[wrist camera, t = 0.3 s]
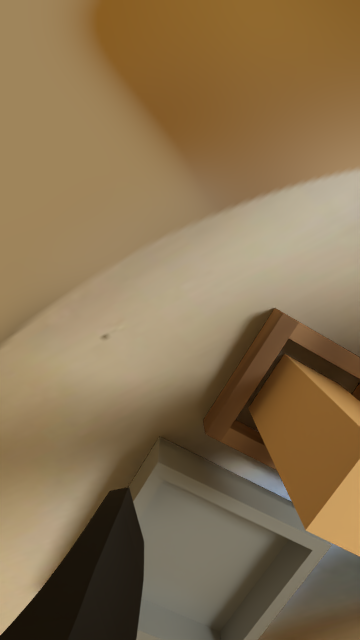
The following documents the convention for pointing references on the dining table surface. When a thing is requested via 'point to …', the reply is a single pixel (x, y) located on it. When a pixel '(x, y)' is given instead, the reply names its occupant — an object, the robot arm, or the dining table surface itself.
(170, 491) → the tray
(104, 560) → the robot arm
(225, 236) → the dining table surface
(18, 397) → the dining table surface
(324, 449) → the tan rectangular block
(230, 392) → the socket collar
